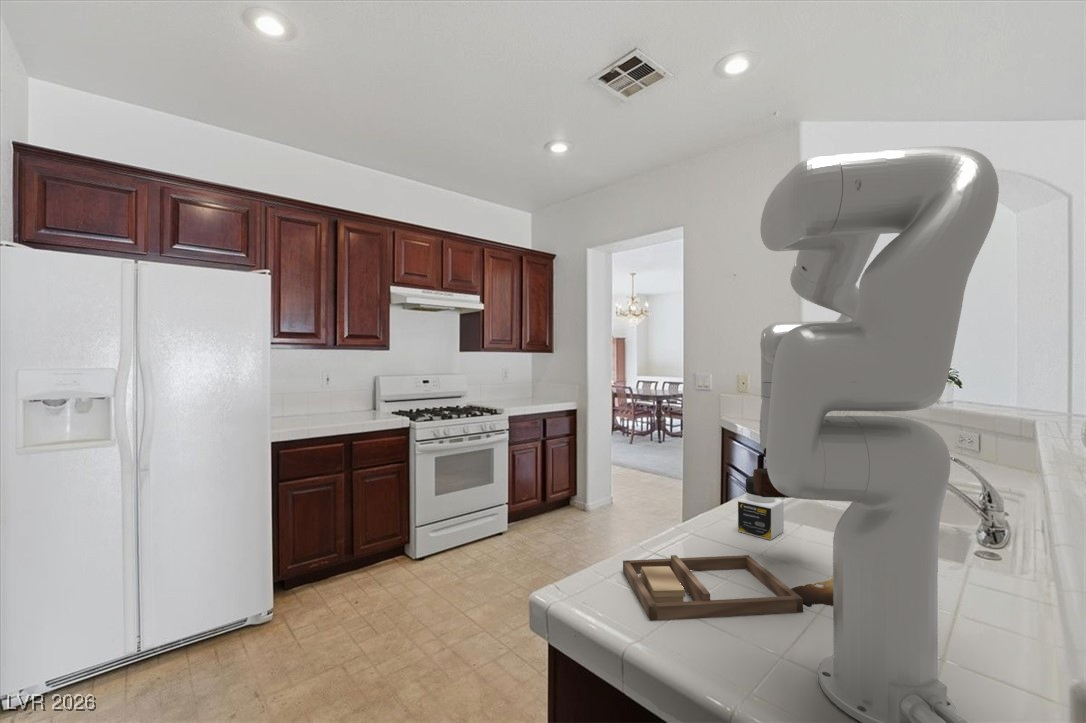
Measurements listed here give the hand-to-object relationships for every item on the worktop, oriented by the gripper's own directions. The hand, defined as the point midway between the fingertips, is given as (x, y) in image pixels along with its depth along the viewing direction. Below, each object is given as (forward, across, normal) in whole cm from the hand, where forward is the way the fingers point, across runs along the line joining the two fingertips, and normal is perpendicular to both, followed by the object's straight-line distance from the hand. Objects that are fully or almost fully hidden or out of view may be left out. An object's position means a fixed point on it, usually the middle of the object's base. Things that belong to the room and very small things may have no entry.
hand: (783, 488), depth 89 cm
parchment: (+14, -11, -6) cm, 19 cm away
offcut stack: (+14, -9, +27) cm, 32 cm away
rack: (+14, -9, +19) cm, 25 cm away
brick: (+2, 0, 0) cm, 2 cm away
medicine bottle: (+14, +15, -4) cm, 21 cm away
